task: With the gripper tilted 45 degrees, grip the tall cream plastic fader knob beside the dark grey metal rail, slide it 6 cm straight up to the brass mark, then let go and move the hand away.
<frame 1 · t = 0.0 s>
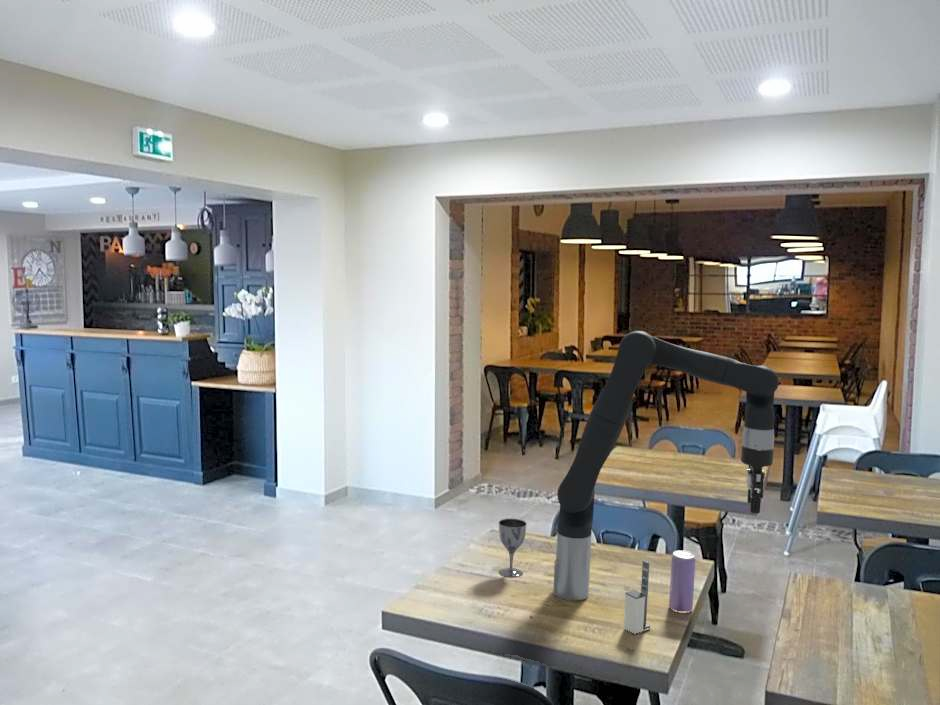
hand: (753, 507, 191), 29 cm above the table, tool pointing down, fingers open, 8 cm apart
wine glass: (510, 573, 220), on the table
beverage can: (680, 610, 199), on the table
fader knob: (634, 612, 185), point 5 cm above the table, slide at 0.0 cm
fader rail: (633, 631, 185), on the table
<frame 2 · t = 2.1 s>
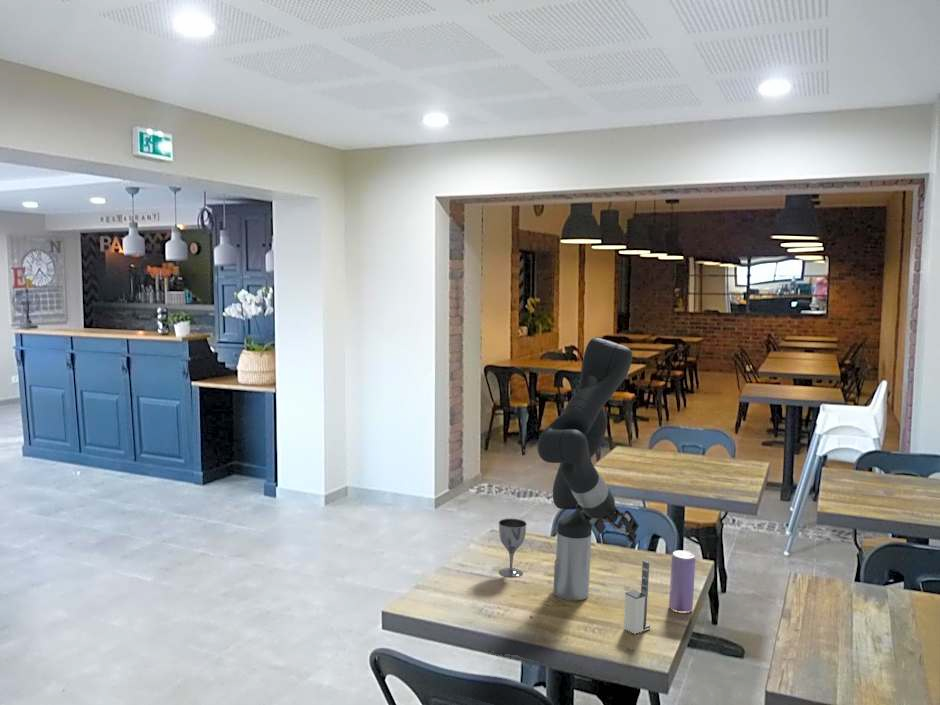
hand: (617, 534, 177), 26 cm above the table, tool tilted 40°, fingers open, 8 cm apart
nothing on the table moved.
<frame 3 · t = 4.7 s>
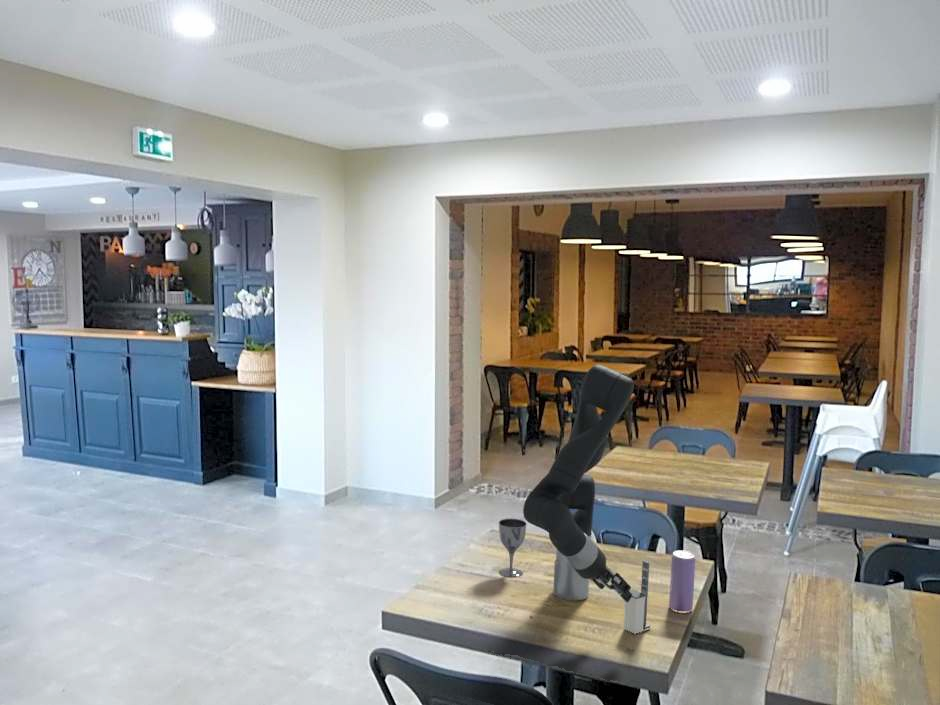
hand: (616, 592, 180), 11 cm above the table, tool tilted 45°, fingers open, 8 cm apart
nothing on the table moved.
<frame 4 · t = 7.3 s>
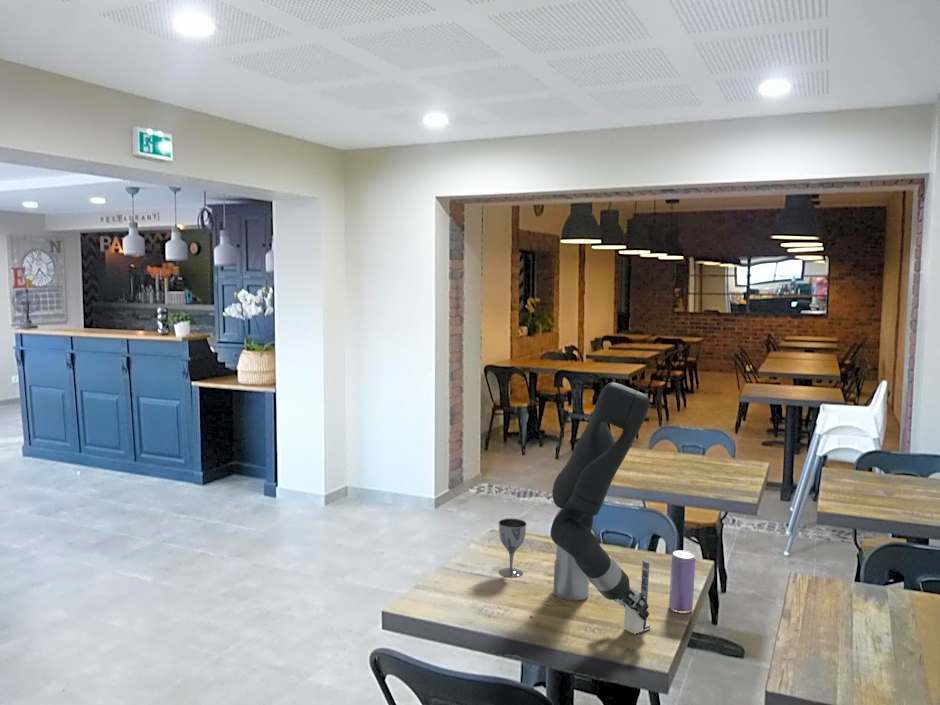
hand: (639, 613, 186), 4 cm above the table, tool tilted 45°, fingers closed on fader knob, 3 cm apart
fader knob: (634, 612, 185), point 5 cm above the table, slide at 0.0 cm, touching gripper
everything else where it was.
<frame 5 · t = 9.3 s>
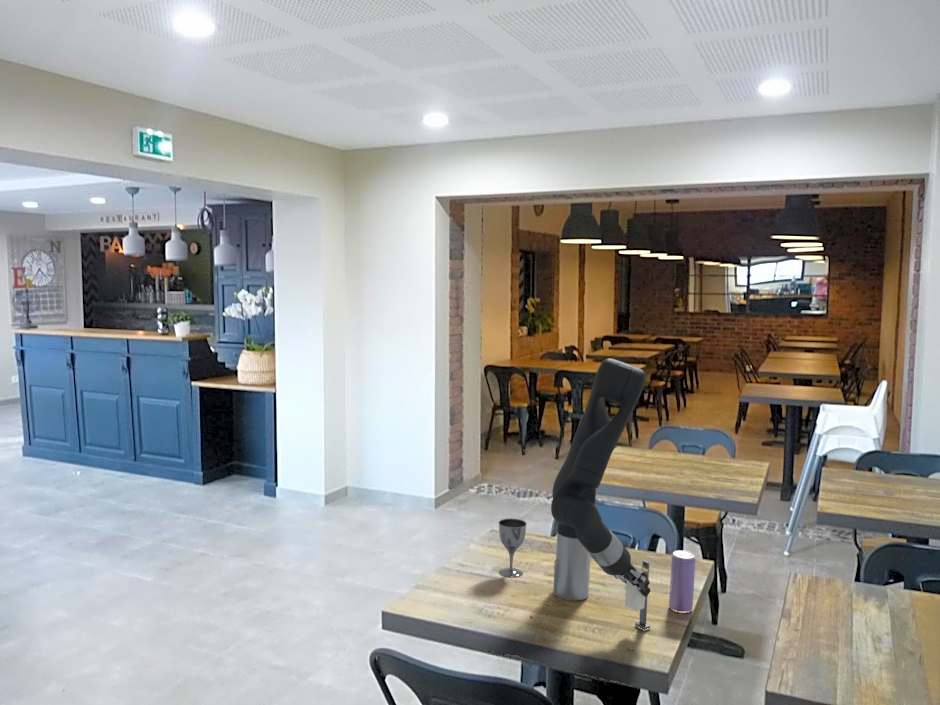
hand: (641, 590, 186), 10 cm above the table, tool tilted 45°, fingers closed on fader knob, 3 cm apart
fader knob: (635, 588, 184), point 11 cm above the table, slide at 6.0 cm, touching gripper
everything else where it was.
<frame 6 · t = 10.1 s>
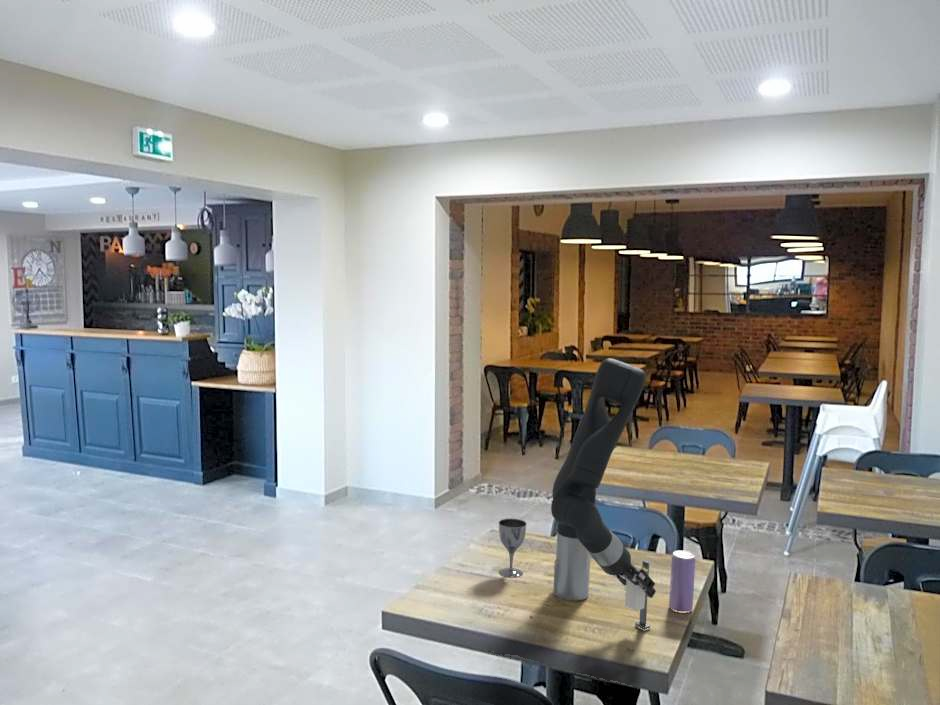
hand: (639, 588, 185), 11 cm above the table, tool tilted 45°, fingers open, 8 cm apart
fader knob: (635, 588, 184), point 11 cm above the table, slide at 6.0 cm
everything else where it was.
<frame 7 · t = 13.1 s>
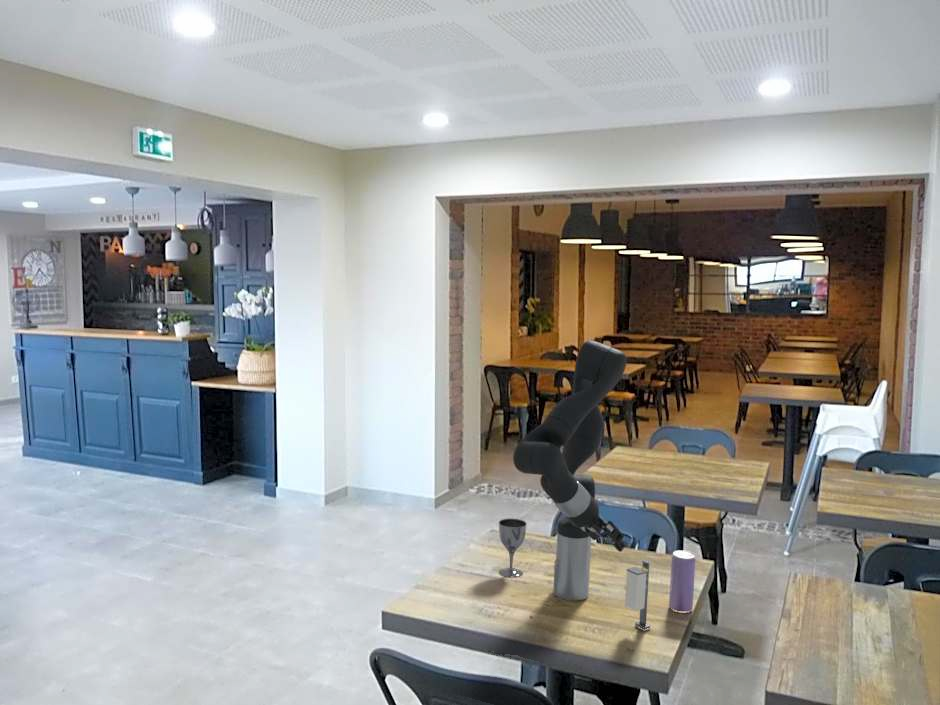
hand: (609, 542, 178), 24 cm above the table, tool tilted 45°, fingers open, 8 cm apart
nothing on the table moved.
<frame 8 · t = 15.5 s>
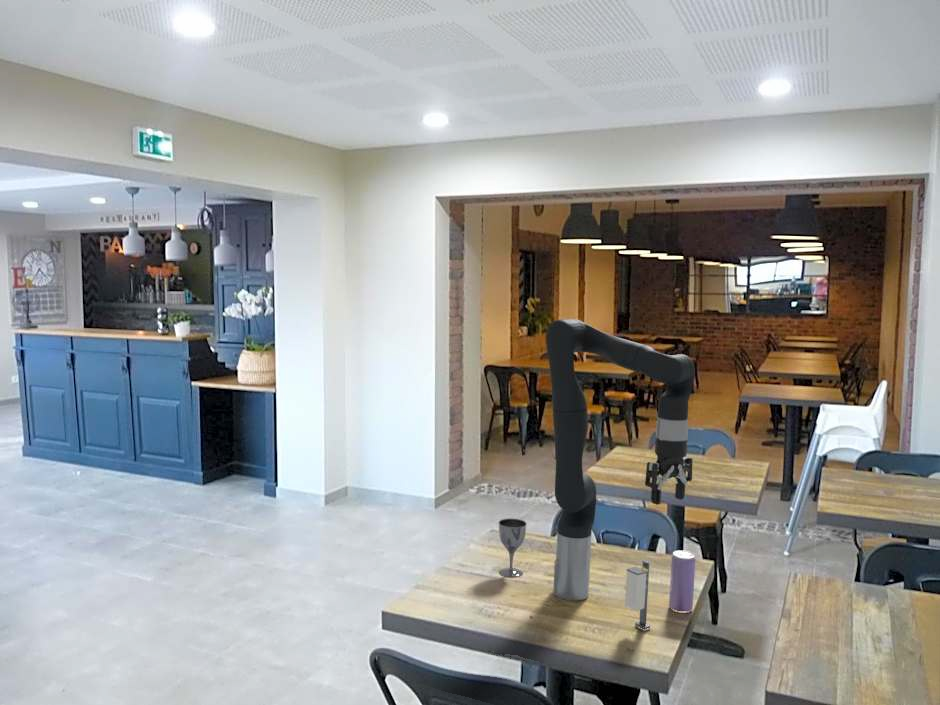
hand: (667, 501, 185), 32 cm above the table, tool pointing down, fingers open, 8 cm apart
nothing on the table moved.
at the end: fader knob slide at 6.0 cm; the gripper is holding nothing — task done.
